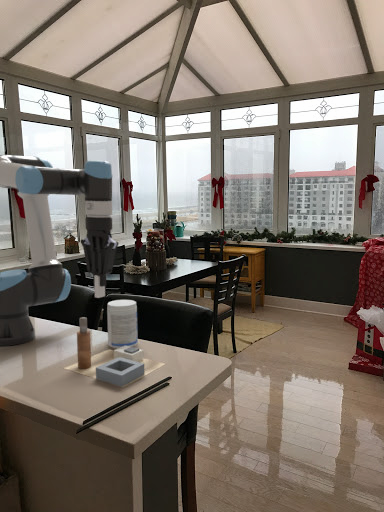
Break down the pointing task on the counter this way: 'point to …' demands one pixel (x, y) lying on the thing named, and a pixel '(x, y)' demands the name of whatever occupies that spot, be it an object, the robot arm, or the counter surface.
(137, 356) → the block
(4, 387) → the counter surface
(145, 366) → the plywood panel
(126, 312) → the supplement tub
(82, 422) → the counter surface
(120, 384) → the socket
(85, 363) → the awl
